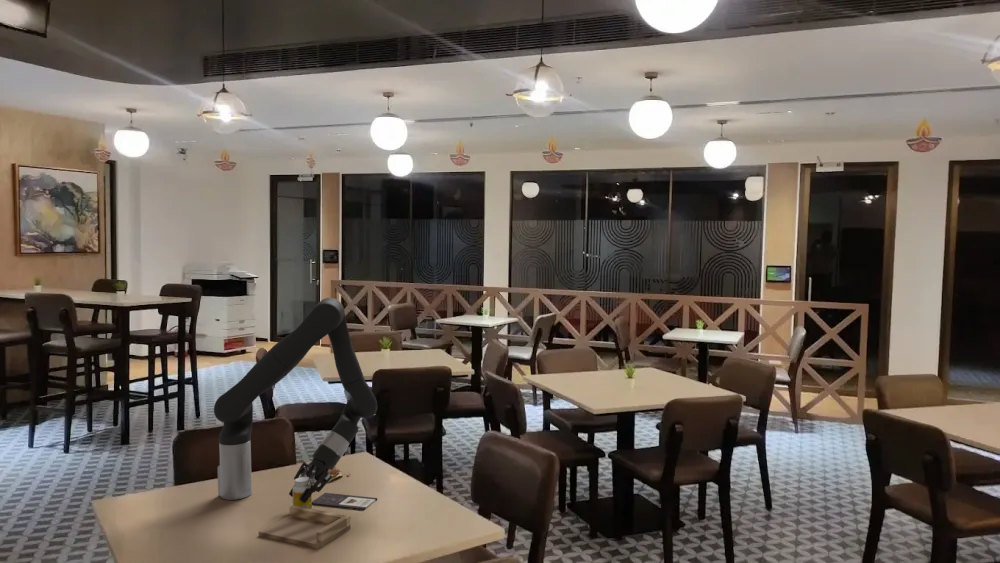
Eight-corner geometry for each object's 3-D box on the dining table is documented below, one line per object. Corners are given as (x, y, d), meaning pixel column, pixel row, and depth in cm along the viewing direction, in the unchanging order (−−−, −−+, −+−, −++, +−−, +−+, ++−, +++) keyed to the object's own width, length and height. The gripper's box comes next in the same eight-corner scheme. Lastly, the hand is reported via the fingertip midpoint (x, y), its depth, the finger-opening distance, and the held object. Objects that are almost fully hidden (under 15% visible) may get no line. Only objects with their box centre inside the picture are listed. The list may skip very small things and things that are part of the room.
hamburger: (333, 488, 229) (333, 470, 229) (302, 481, 236) (302, 463, 236) (362, 475, 241) (362, 458, 241) (332, 469, 248) (332, 452, 248)
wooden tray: (258, 536, 191) (258, 523, 191) (293, 517, 204) (293, 505, 203) (317, 549, 183) (317, 535, 182) (350, 528, 195) (350, 516, 195)
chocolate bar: (325, 492, 222) (377, 498, 217) (325, 495, 222) (377, 501, 217) (310, 502, 214) (363, 508, 209) (310, 505, 214) (364, 511, 209)
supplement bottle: (291, 509, 210) (290, 477, 209) (309, 506, 212) (309, 475, 212) (294, 515, 205) (294, 483, 204) (313, 512, 207) (312, 480, 207)
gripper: (310, 438, 218) (276, 486, 210) (336, 448, 208) (300, 498, 200) (326, 452, 222) (292, 499, 214) (351, 461, 212) (317, 511, 204)
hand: (296, 498), depth 207 cm, fingers closed on supplement bottle, 5 cm apart
